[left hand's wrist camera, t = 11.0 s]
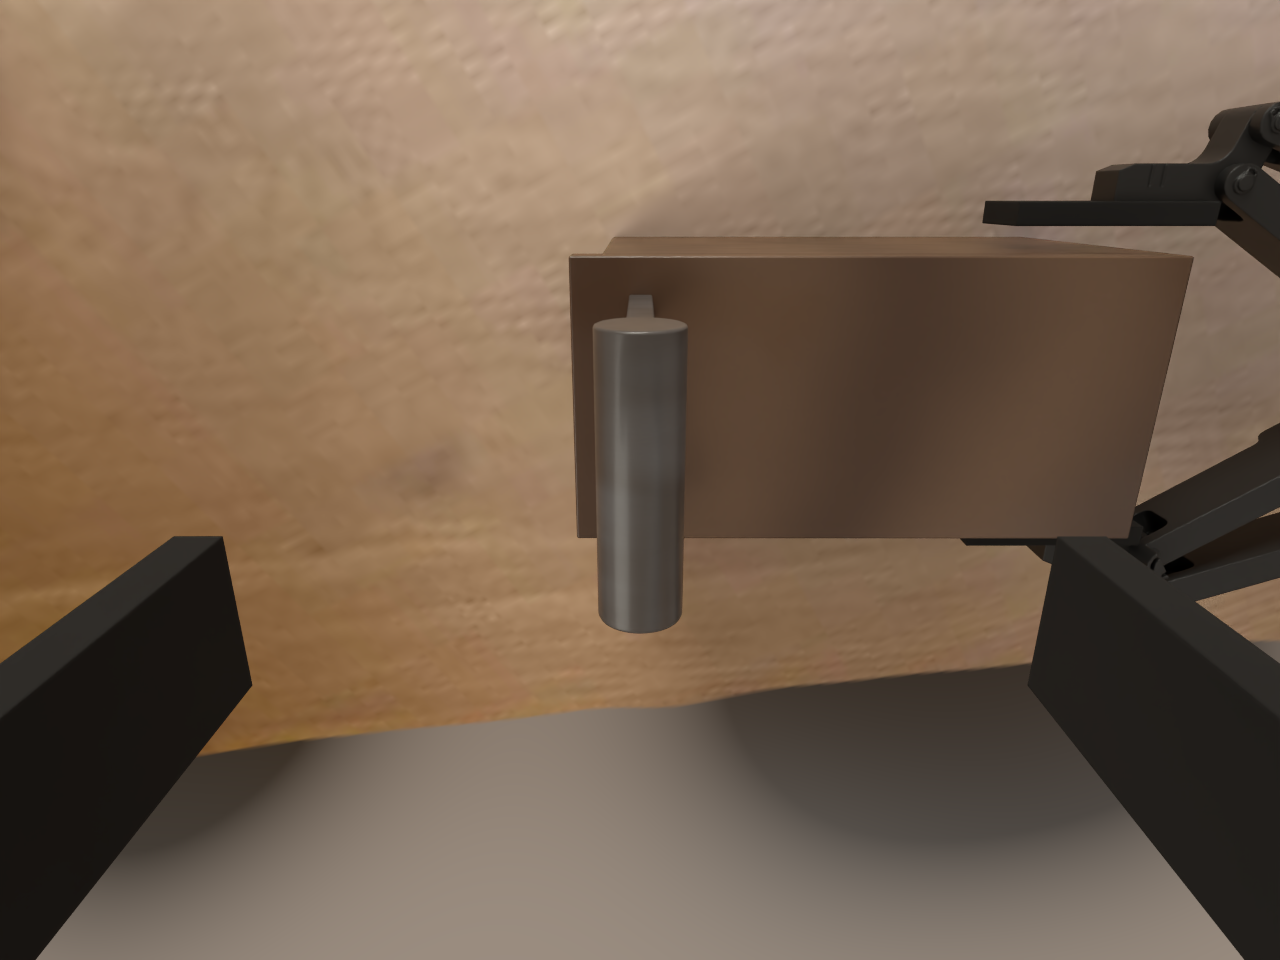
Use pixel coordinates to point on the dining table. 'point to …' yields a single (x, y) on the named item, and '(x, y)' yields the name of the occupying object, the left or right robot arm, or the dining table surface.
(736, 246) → the chest
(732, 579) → the dining table surface
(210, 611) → the left robot arm
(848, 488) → the lid
